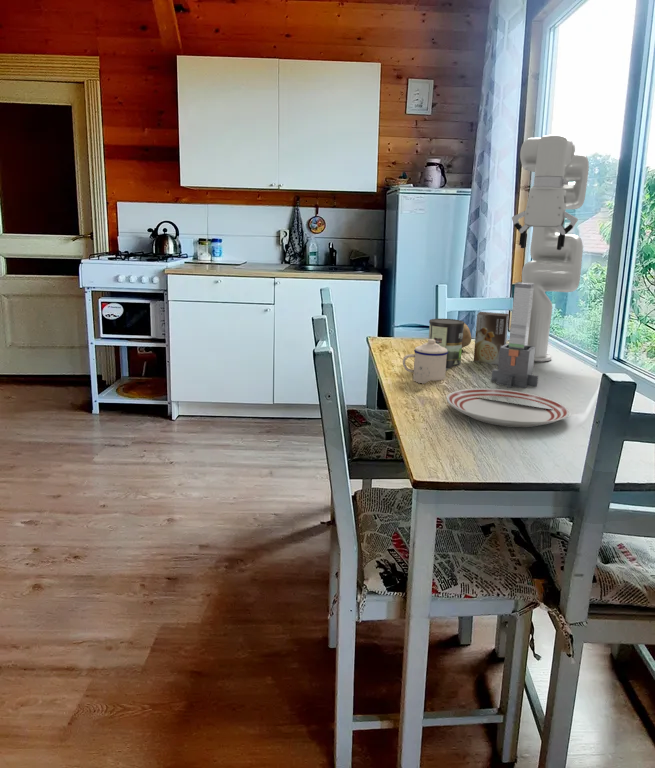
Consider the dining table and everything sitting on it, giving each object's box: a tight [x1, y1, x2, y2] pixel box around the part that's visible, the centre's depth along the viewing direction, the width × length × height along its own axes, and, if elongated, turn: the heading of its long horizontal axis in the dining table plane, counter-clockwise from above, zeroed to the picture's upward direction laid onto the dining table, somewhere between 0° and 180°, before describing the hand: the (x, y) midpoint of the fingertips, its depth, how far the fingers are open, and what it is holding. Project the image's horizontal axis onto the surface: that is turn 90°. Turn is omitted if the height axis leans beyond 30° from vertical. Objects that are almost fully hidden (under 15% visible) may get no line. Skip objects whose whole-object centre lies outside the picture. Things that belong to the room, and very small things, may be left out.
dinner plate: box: [445, 387, 570, 428], centre depth 148 cm, size 28×27×3 cm
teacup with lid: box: [402, 338, 448, 385], centre depth 175 cm, size 12×9×12 cm
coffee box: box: [473, 311, 510, 366], centre depth 197 cm, size 9×6×16 cm
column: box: [508, 281, 534, 350], centre depth 168 cm, size 5×4×21 cm
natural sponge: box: [462, 322, 472, 349], centre depth 220 cm, size 9×9×10 cm
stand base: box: [491, 342, 539, 389], centre depth 171 cm, size 12×12×11 cm
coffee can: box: [428, 318, 465, 371], centre depth 193 cm, size 10×10×14 cm
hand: (540, 248), depth 178 cm, fingers open, 9 cm apart
